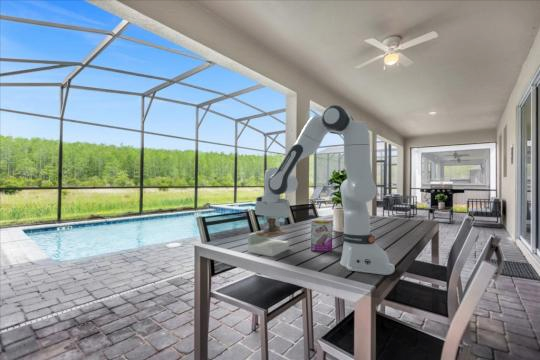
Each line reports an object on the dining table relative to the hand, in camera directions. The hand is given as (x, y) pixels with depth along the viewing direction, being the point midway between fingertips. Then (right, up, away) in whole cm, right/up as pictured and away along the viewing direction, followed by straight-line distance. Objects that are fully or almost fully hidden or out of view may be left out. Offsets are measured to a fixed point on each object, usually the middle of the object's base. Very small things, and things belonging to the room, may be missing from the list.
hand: (271, 224), depth 139 cm
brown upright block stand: (0, -5, 0) cm, 5 cm away
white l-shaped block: (-2, -14, +1) cm, 14 cm away
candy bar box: (+27, -14, +1) cm, 30 cm away
